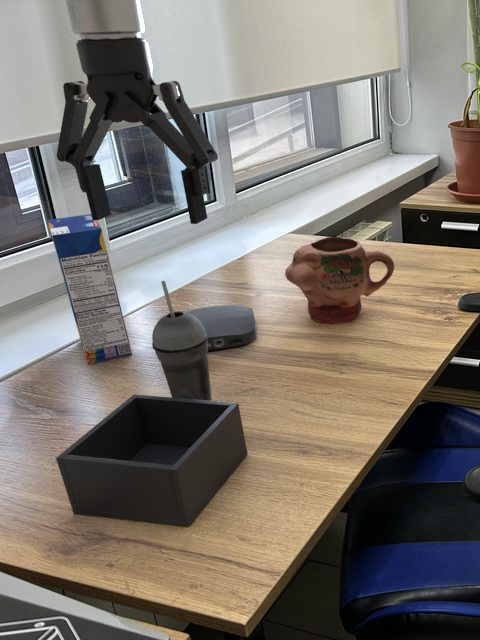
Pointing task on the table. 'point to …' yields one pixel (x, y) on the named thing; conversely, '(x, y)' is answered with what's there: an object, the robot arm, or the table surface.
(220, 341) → the media streaming box
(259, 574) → the table surface
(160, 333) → the beverage cup
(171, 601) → the table surface
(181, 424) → the desk bin
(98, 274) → the beverage box
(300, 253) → the pink ceramic mug
